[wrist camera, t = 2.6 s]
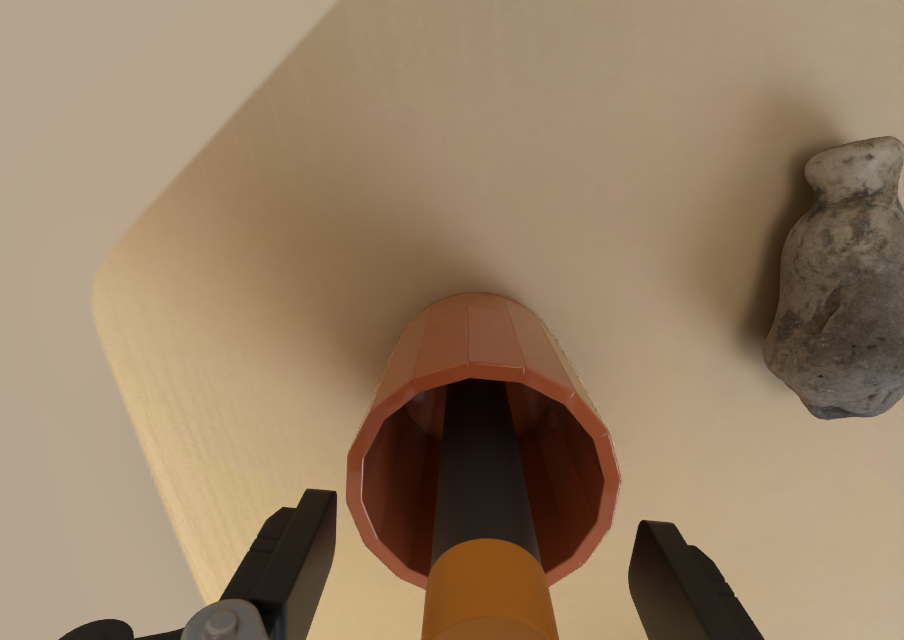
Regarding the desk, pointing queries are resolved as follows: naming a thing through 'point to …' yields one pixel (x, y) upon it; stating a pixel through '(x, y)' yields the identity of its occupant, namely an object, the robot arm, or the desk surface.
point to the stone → (844, 286)
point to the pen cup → (535, 422)
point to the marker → (484, 528)
